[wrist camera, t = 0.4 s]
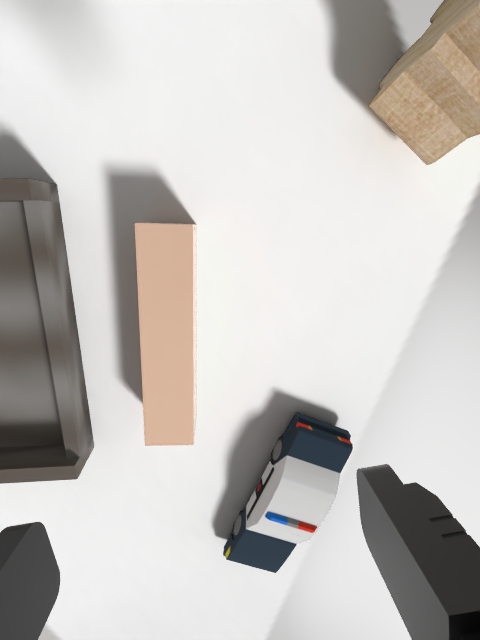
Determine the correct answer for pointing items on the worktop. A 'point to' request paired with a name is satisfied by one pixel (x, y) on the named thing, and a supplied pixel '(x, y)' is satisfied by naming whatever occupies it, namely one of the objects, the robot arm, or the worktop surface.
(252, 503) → the toy car
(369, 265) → the worktop surface
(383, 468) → the robot arm
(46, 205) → the charcoal tray
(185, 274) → the tan rectangular block
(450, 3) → the toy train
